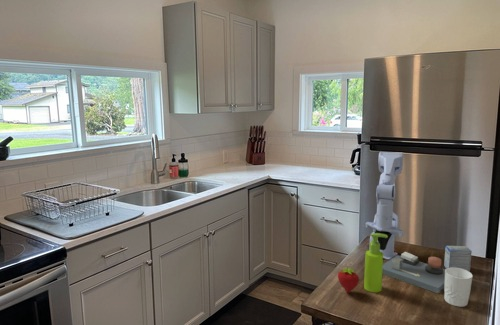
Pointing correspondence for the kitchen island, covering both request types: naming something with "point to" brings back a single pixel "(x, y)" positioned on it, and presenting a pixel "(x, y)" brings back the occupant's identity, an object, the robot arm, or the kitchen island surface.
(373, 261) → the soap dispenser
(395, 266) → the slider knob
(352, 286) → the strawberry
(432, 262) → the push button
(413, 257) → the rocker switch
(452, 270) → the white cup
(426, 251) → the kitchen island surface
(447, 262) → the medicine box
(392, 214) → the robot arm
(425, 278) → the panel
